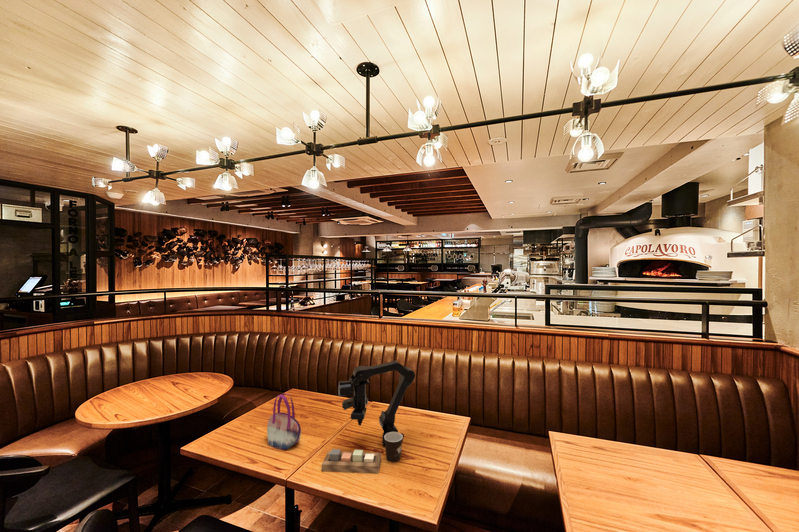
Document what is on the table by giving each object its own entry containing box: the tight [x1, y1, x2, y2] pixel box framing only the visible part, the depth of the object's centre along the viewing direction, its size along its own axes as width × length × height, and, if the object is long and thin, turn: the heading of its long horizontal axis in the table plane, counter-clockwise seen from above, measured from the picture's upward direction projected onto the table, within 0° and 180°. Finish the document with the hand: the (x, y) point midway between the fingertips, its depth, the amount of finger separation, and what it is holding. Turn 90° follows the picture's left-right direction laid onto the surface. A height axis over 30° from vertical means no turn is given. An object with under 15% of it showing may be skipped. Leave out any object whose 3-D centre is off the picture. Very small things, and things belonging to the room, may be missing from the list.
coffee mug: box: [384, 431, 405, 463], centre depth 147 cm, size 12×9×10 cm
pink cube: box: [340, 453, 352, 462], centre depth 141 cm, size 4×4×4 cm
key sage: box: [352, 449, 364, 462], centre depth 141 cm, size 4×4×4 cm
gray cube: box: [330, 448, 342, 462], centre depth 142 cm, size 4×4×4 cm
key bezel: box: [321, 450, 382, 474], centre depth 141 cm, size 25×10×3 cm, turn 86°
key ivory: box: [364, 454, 375, 463], centre depth 141 cm, size 4×4×4 cm
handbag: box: [266, 392, 302, 451], centre depth 158 cm, size 21×10×25 cm, turn 66°
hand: (359, 425), depth 153 cm, fingers closed
